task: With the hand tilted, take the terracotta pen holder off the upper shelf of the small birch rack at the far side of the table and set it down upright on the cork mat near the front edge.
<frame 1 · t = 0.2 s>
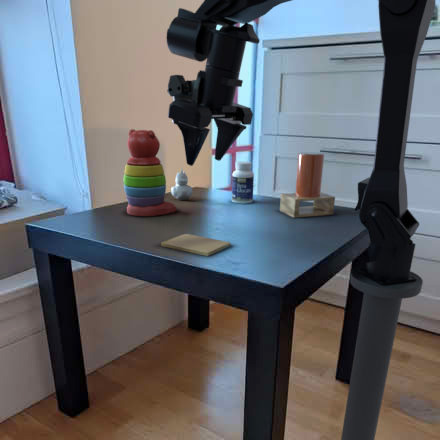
hand: (204, 162, 77), 13 cm above the table, tool pointing down, fingers open, 9 cm apart
rack: (306, 212, 96), on the table
pill bottle: (242, 202, 107), on the table
stacking bear: (148, 212, 97), on the table
cork mat: (195, 245, 73), on the table
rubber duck: (181, 199, 110), on the table
pen holder: (307, 195, 95), point 4 cm above the table, touching rack
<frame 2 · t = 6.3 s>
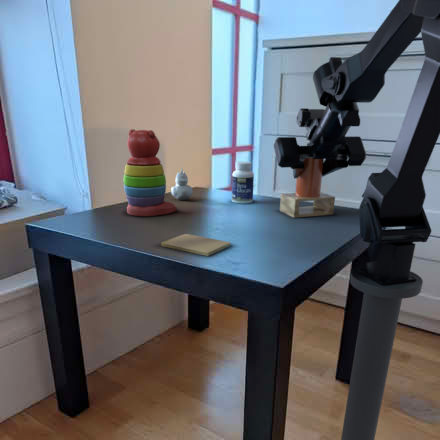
hand: (306, 176, 94), 8 cm above the table, tool tilted 45°, fingers closed on pen holder, 5 cm apart
pen holder: (307, 195, 95), point 4 cm above the table, touching gripper, rack
everything else where it was.
when the fingers open (5 cm above the table, at t = 15.8 s): pen holder stays where it is, resting on cork mat.
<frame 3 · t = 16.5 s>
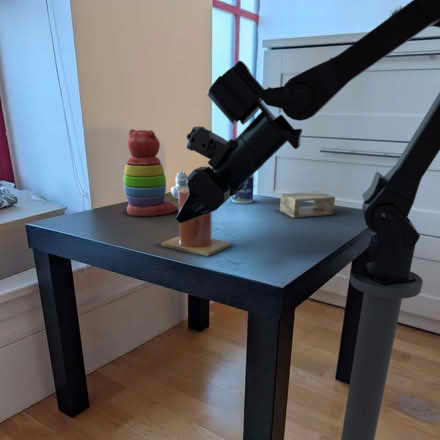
hand: (187, 214, 71), 5 cm above the table, tool tilted 45°, fingers open, 9 cm apart
pen holder: (195, 242, 73), point 1 cm above the table, touching cork mat
everything else where it was.
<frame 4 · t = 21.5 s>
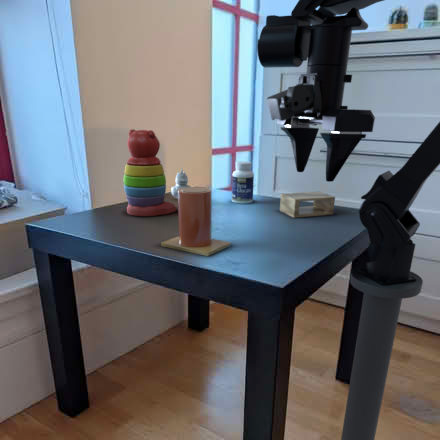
hand: (314, 176, 67), 12 cm above the table, tool pointing down, fingers open, 9 cm apart
nothing on the table moved.
at the end: pen holder 0.0 cm off-centre on the cork mat, point 0.6 cm above the cork mat's base; pen holder tilted 0° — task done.
